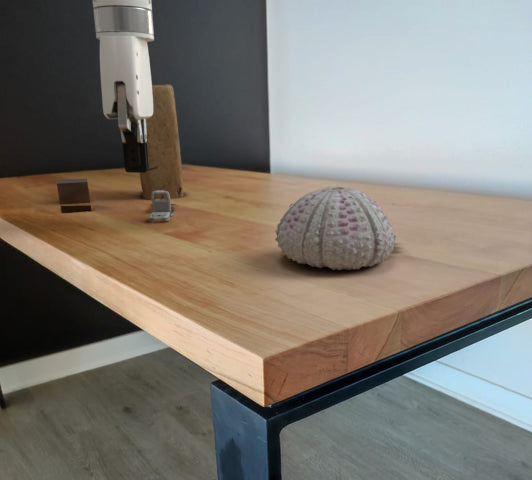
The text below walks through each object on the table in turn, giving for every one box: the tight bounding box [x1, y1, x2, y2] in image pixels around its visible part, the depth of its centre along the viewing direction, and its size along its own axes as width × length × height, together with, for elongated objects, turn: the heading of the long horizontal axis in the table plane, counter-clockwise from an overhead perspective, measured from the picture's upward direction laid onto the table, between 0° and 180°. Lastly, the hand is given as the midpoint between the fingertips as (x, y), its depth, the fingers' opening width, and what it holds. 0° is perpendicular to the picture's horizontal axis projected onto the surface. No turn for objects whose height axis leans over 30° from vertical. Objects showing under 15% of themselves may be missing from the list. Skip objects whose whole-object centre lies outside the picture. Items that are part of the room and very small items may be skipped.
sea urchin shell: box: [274, 185, 397, 271], centre depth 60 cm, size 13×14×8 cm
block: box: [133, 83, 184, 206], centre depth 98 cm, size 11×8×20 cm
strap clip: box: [148, 190, 175, 223], centre depth 87 cm, size 8×3×4 cm, turn 1°
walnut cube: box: [56, 178, 93, 214], centre depth 95 cm, size 5×5×5 cm
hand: (137, 171), depth 80 cm, fingers closed
